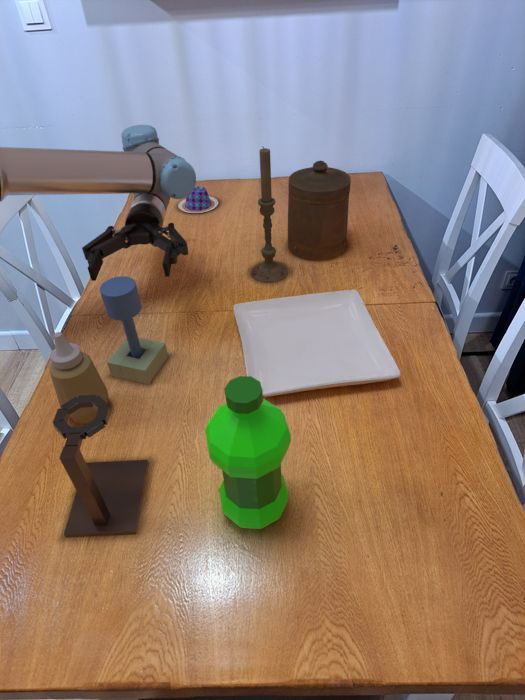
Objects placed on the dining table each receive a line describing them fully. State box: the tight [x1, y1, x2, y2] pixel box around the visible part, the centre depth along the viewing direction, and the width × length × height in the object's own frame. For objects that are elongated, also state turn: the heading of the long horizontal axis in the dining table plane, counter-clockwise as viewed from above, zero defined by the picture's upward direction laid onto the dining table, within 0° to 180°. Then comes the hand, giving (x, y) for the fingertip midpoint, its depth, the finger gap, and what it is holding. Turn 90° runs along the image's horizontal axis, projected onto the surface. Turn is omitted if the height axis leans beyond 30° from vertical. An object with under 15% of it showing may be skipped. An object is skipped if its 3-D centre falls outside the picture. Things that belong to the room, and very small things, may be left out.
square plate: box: [232, 289, 402, 398], centre depth 95 cm, size 27×27×4 cm
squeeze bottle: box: [49, 331, 109, 425], centre depth 80 cm, size 8×8×18 cm
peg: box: [99, 275, 143, 359], centre depth 88 cm, size 6×6×19 cm
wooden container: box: [287, 160, 352, 262], centre depth 119 cm, size 15×15×22 cm
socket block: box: [106, 337, 169, 385], centre depth 93 cm, size 8×8×4 cm
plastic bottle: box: [204, 375, 292, 530], centre depth 63 cm, size 10×10×25 cm
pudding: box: [177, 185, 219, 214], centre depth 145 cm, size 12×12×5 cm
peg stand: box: [52, 395, 150, 538], centre depth 68 cm, size 12×10×17 cm
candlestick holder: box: [250, 146, 289, 284], centre depth 108 cm, size 9×9×30 cm
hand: (128, 272), depth 89 cm, fingers open, 13 cm apart
